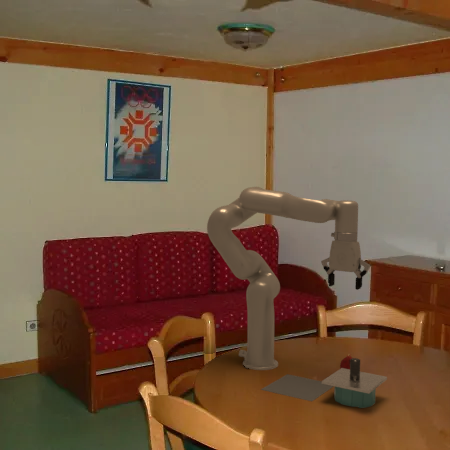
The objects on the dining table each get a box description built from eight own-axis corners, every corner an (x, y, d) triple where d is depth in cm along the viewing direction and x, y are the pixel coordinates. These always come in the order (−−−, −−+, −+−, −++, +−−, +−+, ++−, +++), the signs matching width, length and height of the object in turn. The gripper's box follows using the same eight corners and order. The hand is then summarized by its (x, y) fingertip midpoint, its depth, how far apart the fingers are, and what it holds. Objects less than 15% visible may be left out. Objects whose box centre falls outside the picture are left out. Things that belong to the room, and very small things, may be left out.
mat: (260, 390, 208) (260, 389, 208) (287, 375, 223) (287, 374, 223) (311, 402, 198) (311, 401, 198) (336, 385, 213) (336, 384, 213)
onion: (357, 380, 218) (357, 357, 217) (339, 379, 219) (340, 356, 218) (357, 375, 223) (357, 352, 222) (340, 373, 224) (340, 351, 224)
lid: (321, 383, 197) (322, 361, 196) (341, 370, 209) (342, 349, 209) (369, 393, 189) (369, 370, 188) (387, 379, 201) (387, 357, 201)
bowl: (328, 402, 198) (328, 383, 197) (344, 390, 208) (344, 372, 207) (365, 410, 191) (366, 391, 191) (380, 398, 201) (380, 379, 201)
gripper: (317, 236, 221) (316, 286, 223) (366, 240, 212) (364, 292, 213) (327, 234, 227) (326, 282, 229) (374, 238, 218) (373, 288, 220)
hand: (344, 287), depth 221 cm, fingers open, 9 cm apart
